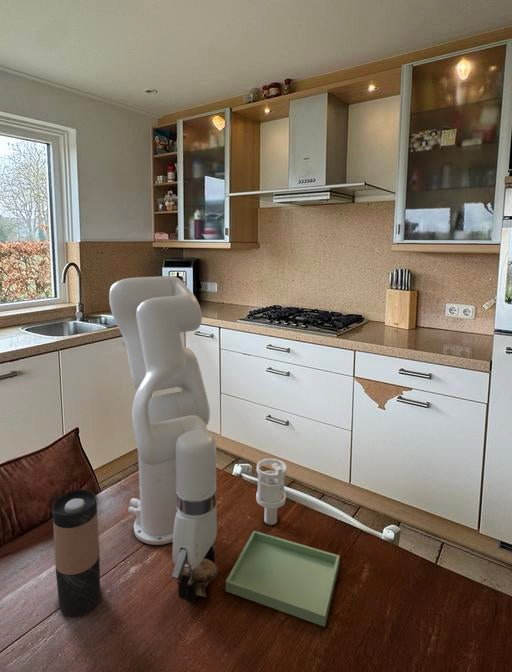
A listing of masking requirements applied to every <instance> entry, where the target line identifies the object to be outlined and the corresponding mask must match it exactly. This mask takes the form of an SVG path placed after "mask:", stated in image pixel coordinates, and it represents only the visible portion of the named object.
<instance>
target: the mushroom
mask: <svg viewBox="0 0 512 672" xmlns="http://www.w3.org/2000/svg"><path fill="white" fill-rule="evenodd" d="M189 572H190V569H189V568H186V567H184V572H183V575H186V576H188V577H189ZM218 575H219V569H218V566H217V564H216V563H215V564H214V563H213V562H212V561H210V560H209V559H205V558H203V560H202V561H201V563H200V564H199V566H198V567H197V568H195V573H194V578H193V581H195V596H198V597H202V598H207V594H206V588H207V586H208V585H209V584H210V582H212V581H214V580H215V579H216V578H217V577H218ZM175 582H176V584H177V585H178V586H179V582H177V581H175Z"/></svg>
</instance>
